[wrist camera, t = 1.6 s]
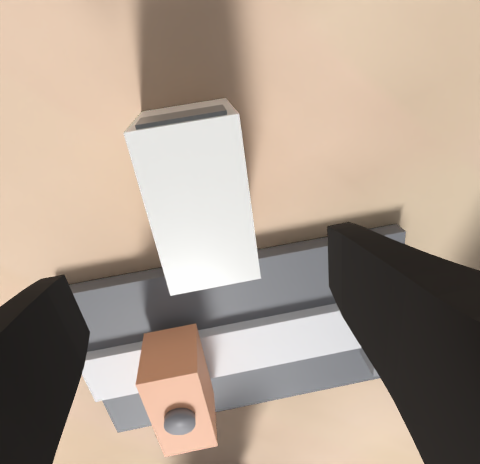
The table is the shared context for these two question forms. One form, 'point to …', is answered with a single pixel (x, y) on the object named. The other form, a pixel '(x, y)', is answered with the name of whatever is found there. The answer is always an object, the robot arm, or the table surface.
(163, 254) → the block
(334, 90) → the table surface
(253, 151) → the table surface
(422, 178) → the table surface
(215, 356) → the din rail
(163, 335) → the block with grey knob
